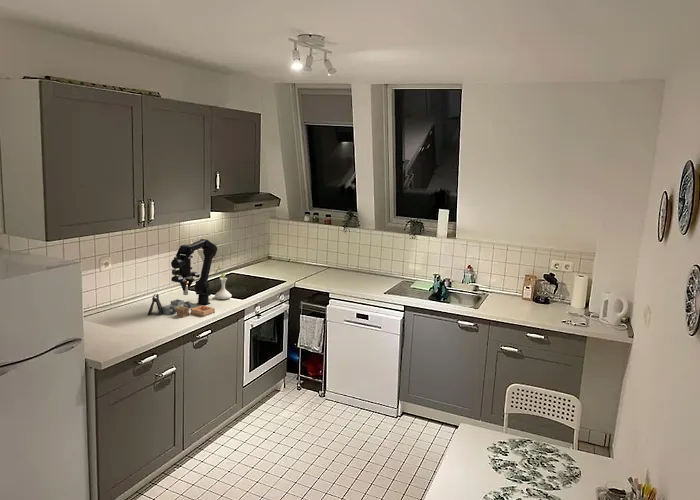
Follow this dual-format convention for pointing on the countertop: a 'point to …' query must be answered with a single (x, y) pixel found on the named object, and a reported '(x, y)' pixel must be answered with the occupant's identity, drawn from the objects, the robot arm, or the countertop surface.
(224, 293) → the flower in vase
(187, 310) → the taped cardboard box
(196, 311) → the open tan box
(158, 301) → the phone stand
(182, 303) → the dolly
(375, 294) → the countertop surface
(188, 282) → the pin
